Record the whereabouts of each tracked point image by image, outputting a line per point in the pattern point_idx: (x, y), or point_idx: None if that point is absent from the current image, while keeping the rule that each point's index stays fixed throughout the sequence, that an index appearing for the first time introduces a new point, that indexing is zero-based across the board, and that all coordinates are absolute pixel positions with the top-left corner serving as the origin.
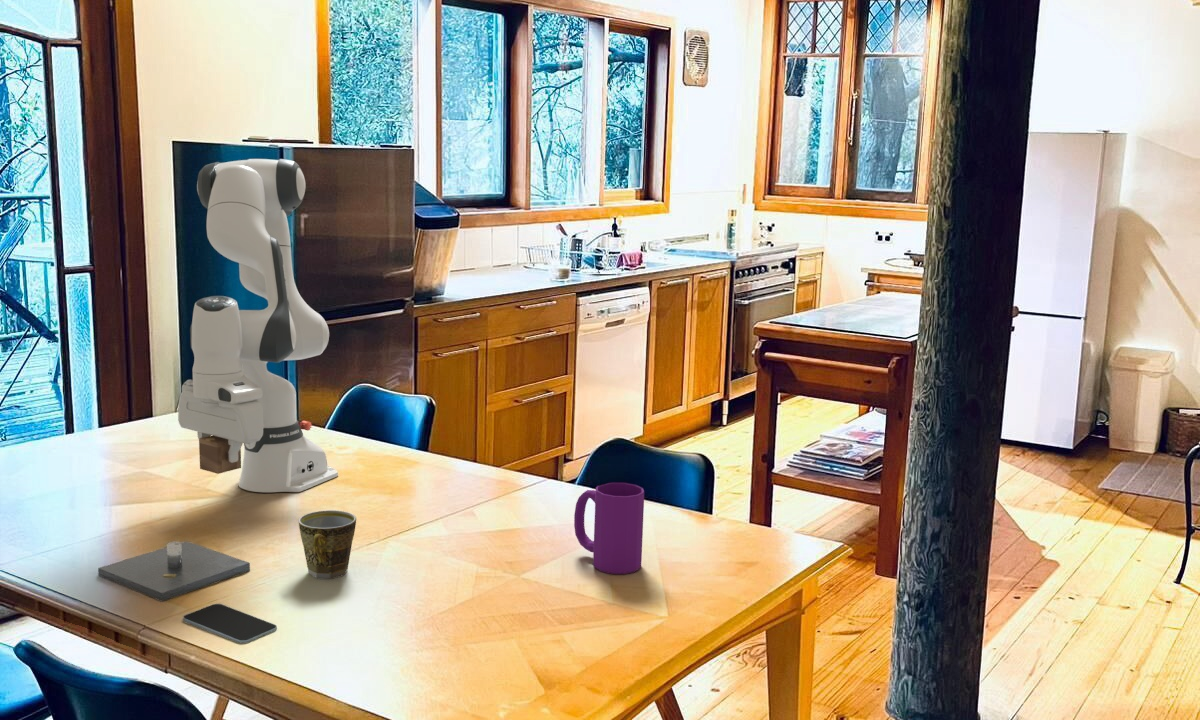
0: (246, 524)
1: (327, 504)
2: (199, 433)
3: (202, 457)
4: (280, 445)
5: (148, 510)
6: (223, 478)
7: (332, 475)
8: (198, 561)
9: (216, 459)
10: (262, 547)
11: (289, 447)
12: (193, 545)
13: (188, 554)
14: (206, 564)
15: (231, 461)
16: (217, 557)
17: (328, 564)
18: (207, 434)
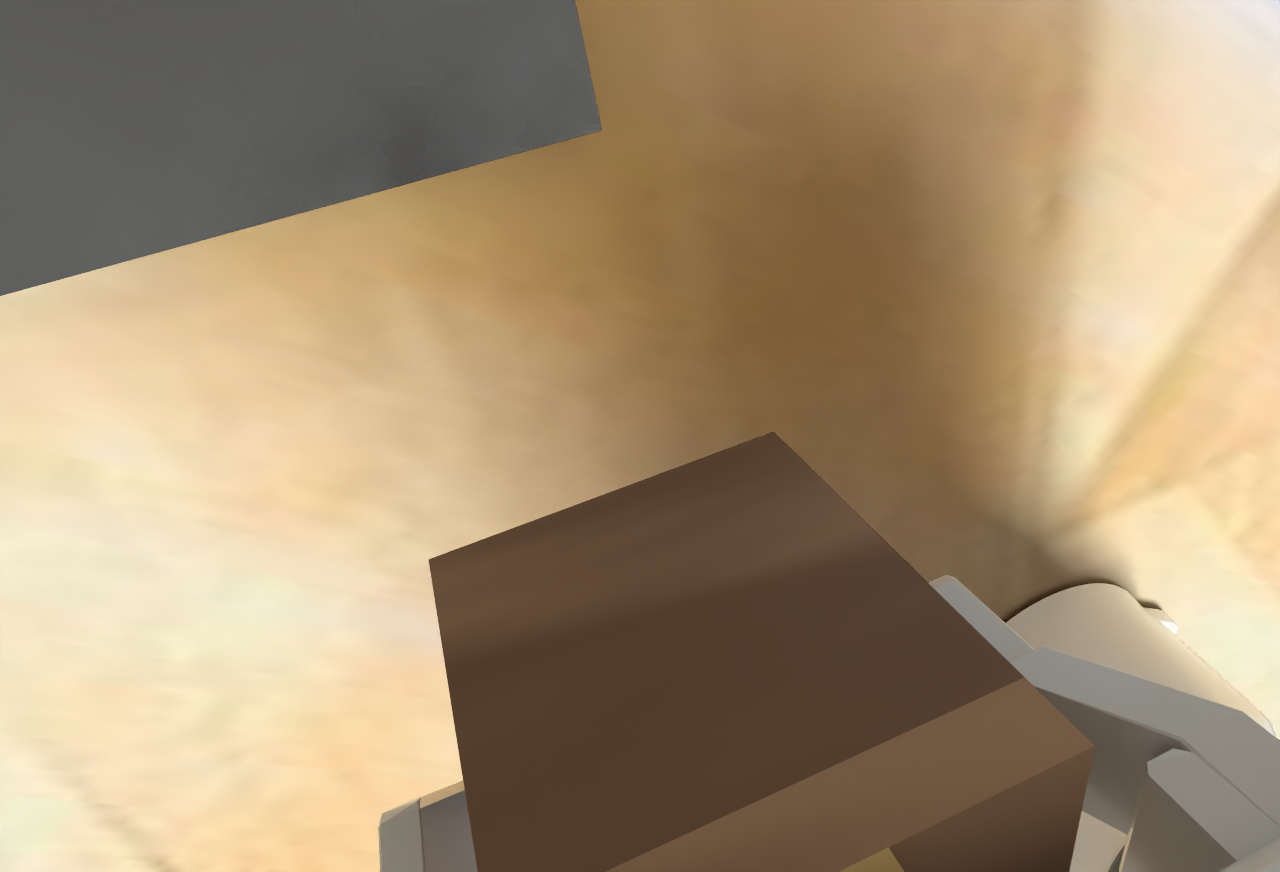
0: None
1: None
2: (1267, 793)
3: (801, 543)
4: (1108, 848)
5: (1184, 194)
6: (1202, 557)
7: None
8: (115, 10)
9: (479, 697)
10: (369, 478)
11: (1079, 862)
12: (491, 131)
13: (322, 18)
14: (5, 31)
15: (381, 827)
16: (149, 169)
17: None
18: (1155, 864)
